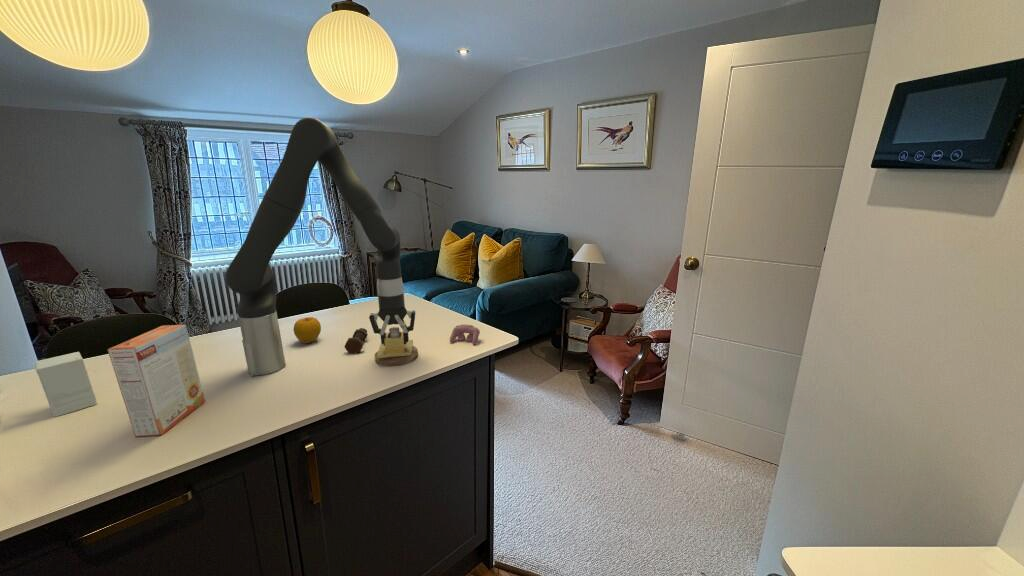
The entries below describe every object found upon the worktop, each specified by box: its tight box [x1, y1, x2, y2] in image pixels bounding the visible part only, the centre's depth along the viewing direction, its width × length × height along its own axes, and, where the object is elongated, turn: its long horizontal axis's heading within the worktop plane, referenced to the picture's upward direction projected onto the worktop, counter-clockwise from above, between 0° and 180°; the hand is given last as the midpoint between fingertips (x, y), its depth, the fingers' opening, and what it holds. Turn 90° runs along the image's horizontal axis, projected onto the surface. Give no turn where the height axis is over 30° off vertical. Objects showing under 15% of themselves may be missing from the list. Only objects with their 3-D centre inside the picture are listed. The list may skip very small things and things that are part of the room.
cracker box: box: [107, 324, 206, 438], centre depth 87 cm, size 14×6×21 cm, turn 4°
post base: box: [374, 326, 419, 367], centre depth 120 cm, size 13×13×10 cm
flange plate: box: [377, 330, 414, 358], centre depth 120 cm, size 10×10×5 cm
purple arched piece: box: [449, 324, 481, 346], centre depth 133 cm, size 10×5×7 cm, turn 75°
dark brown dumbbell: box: [344, 327, 369, 355], centre depth 131 cm, size 6×5×15 cm
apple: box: [293, 316, 322, 344], centre depth 133 cm, size 8×8×9 cm
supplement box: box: [35, 351, 98, 418], centre depth 94 cm, size 7×7×13 cm
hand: (395, 343), depth 120 cm, fingers closed on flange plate, 5 cm apart
